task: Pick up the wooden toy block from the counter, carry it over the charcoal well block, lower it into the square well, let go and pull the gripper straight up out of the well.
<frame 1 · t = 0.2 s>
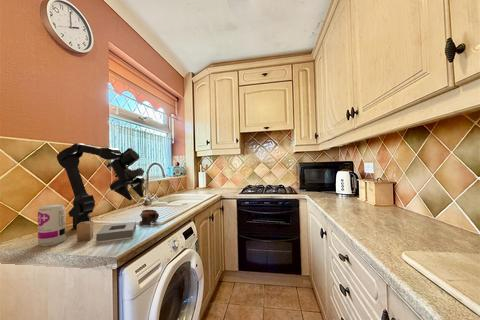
hand: (137, 198, 100), 15 cm above the countertop, tool tilted 30°, fingers open, 9 cm apart
wooden toy block: (85, 239, 88), on the countertop
supplement can: (52, 243, 85), on the countertop
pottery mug: (149, 223, 110), on the countertop
charcoal well block: (118, 235, 92), on the countertop
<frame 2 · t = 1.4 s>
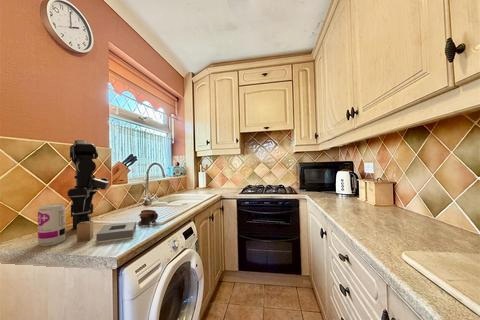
hand: (85, 210, 88), 12 cm above the countertop, tool pointing down, fingers open, 9 cm apart
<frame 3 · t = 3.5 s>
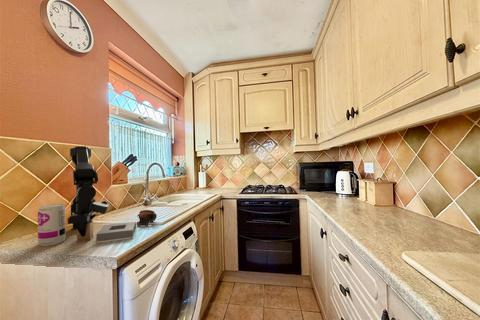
hand: (85, 234, 88), 2 cm above the countertop, tool pointing down, fingers closed on wooden toy block, 4 cm apart
wooden toy block: (85, 239, 88), on the countertop, touching gripper
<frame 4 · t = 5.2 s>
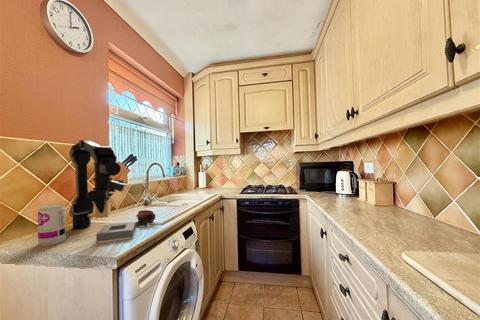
hand: (103, 211, 90), 11 cm above the countertop, tool pointing down, fingers closed on wooden toy block, 4 cm apart
wooden toy block: (103, 216, 90), point 9 cm above the countertop, touching gripper
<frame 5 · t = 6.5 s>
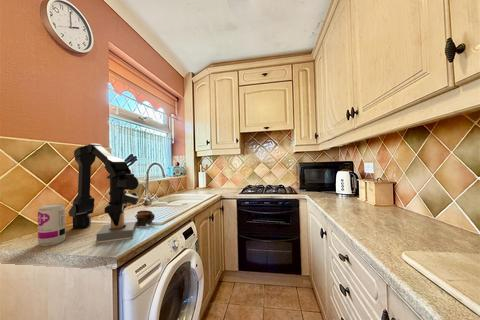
hand: (117, 224, 92), 5 cm above the countertop, tool pointing down, fingers closed on wooden toy block, 4 cm apart
wooden toy block: (117, 228, 92), point 3 cm above the countertop, touching gripper
when the fingers open (4 cm above the countertop, at t = 7.3 s): wooden toy block drops 2 cm, resting on charcoal well block.
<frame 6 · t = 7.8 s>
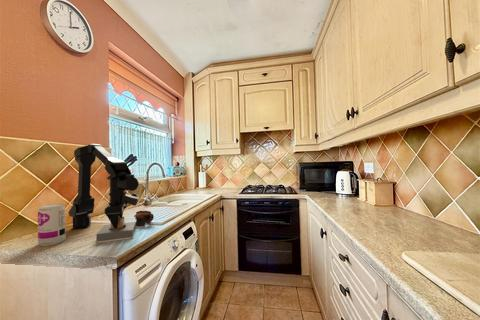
hand: (117, 225, 92), 4 cm above the countertop, tool pointing down, fingers open, 9 cm apart
wooden toy block: (117, 234, 92), resting on charcoal well block
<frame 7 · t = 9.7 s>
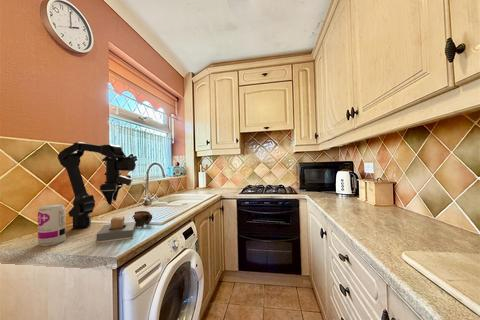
hand: (112, 202, 102), 13 cm above the countertop, tool pointing down, fingers open, 9 cm apart
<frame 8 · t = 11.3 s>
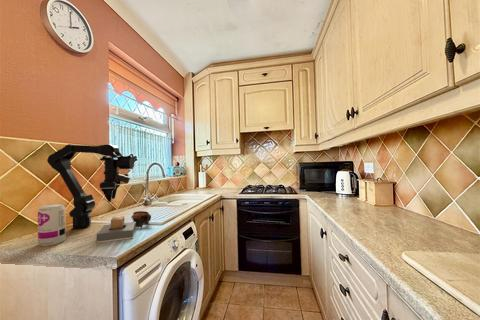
hand: (111, 200, 106), 13 cm above the countertop, tool pointing down, fingers open, 9 cm apart
at the end: wooden toy block 0.0 cm off-centre on the charcoal well block, point 0.5 cm above the charcoal well block's base; wooden toy block tilted 0°; the gripper is holding nothing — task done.
